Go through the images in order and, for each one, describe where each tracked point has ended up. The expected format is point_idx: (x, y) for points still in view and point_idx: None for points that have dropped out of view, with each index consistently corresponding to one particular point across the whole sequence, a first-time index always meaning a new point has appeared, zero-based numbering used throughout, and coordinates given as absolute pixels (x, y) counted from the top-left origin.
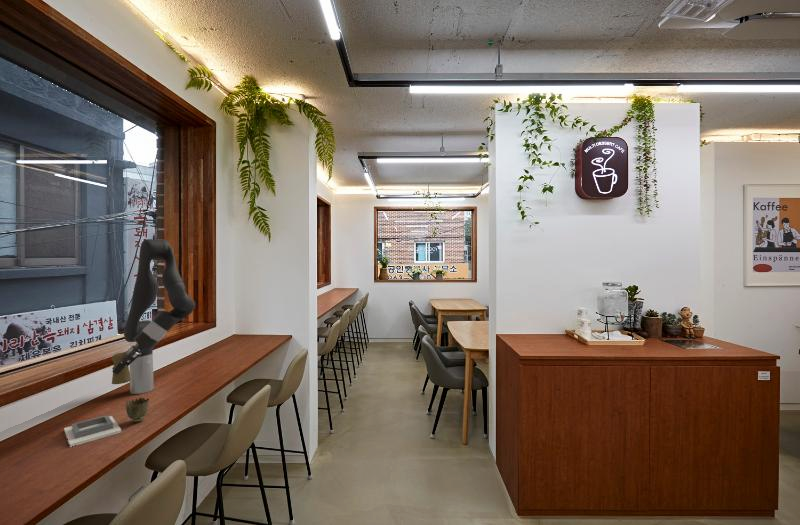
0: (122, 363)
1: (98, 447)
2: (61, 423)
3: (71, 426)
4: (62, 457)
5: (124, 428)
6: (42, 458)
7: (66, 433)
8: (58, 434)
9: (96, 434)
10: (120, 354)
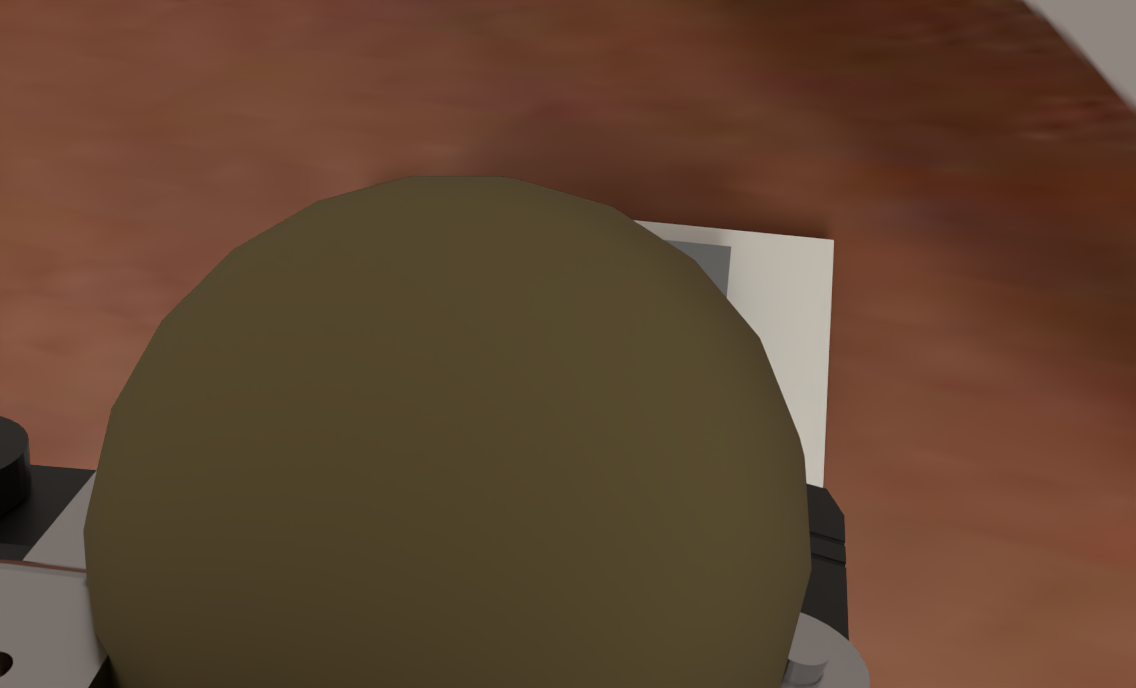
0: (65, 471)
1: (140, 336)
2: (1090, 278)
3: (823, 287)
4: (223, 141)
5: None
6: (343, 63)
7: (658, 225)
8: (772, 208)
9: None
10: (197, 389)
